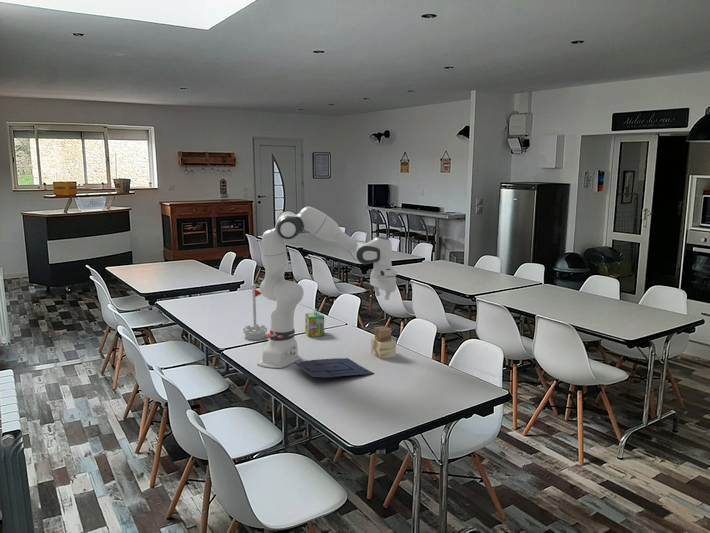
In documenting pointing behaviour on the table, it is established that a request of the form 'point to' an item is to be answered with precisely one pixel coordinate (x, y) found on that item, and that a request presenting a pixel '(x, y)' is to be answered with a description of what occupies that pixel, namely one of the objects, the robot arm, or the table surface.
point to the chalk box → (314, 324)
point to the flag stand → (255, 330)
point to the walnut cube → (382, 334)
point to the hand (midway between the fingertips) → (382, 297)
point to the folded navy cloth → (332, 367)
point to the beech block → (383, 348)
